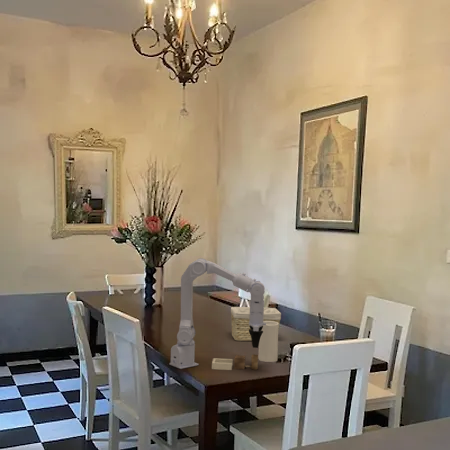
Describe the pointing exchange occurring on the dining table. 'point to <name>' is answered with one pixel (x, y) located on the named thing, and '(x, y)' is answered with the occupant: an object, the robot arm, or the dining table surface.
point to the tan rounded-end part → (240, 362)
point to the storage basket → (242, 321)
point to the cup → (269, 342)
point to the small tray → (222, 364)
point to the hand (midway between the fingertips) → (255, 345)
